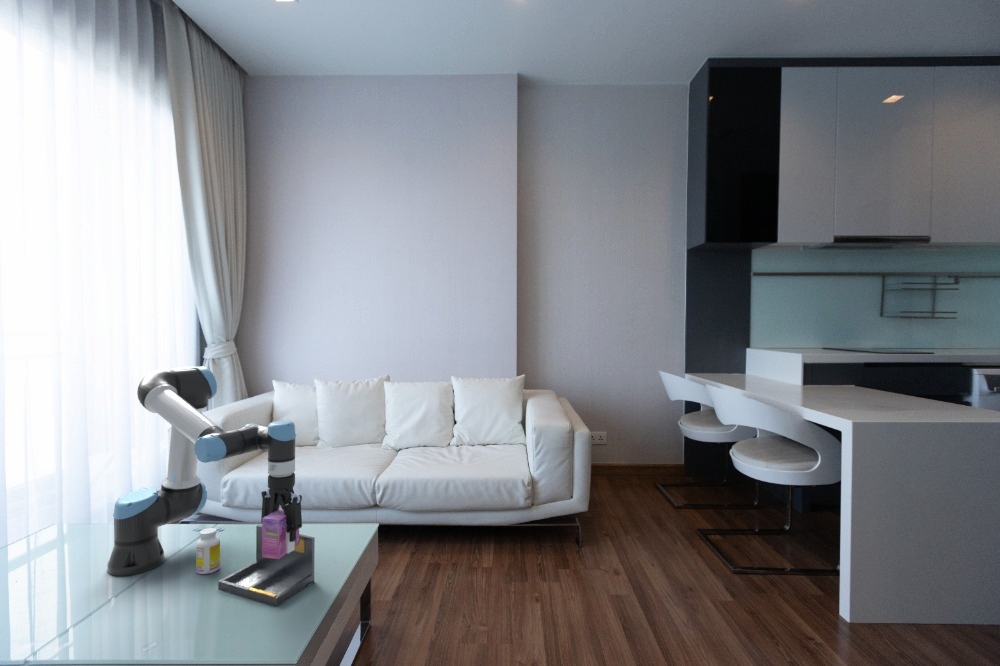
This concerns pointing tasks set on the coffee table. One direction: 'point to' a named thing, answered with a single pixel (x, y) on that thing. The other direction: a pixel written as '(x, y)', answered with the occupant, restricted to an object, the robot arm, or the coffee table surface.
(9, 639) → the coffee table surface
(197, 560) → the supplement bottle
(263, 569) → the rack
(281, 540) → the box
